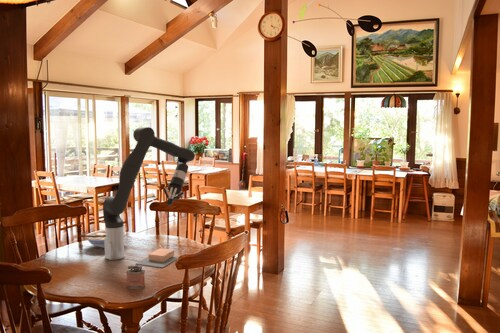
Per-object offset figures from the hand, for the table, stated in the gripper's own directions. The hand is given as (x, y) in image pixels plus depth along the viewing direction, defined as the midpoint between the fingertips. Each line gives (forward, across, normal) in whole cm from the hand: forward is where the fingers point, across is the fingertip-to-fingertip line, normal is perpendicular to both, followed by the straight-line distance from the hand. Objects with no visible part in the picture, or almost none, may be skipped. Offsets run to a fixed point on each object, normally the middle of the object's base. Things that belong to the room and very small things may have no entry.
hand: (168, 205), depth 231 cm
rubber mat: (+33, +5, -1) cm, 33 cm away
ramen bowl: (+26, -34, +19) cm, 47 cm away
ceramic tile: (+25, +6, +4) cm, 26 cm away
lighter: (+53, +8, -29) cm, 61 cm away
